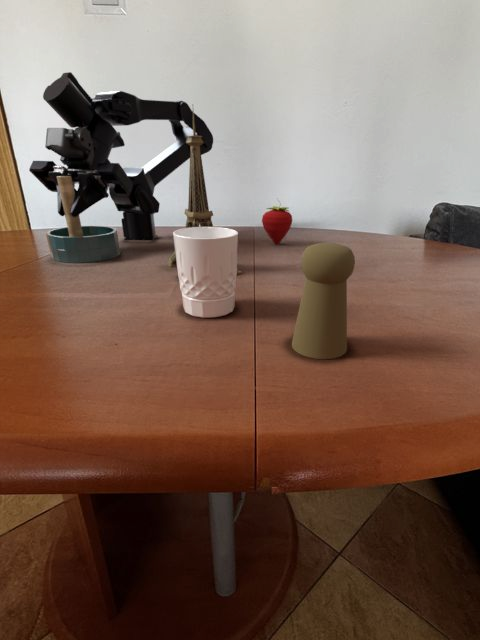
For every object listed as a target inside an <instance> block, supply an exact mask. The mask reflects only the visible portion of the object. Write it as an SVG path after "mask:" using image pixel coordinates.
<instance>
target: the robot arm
mask: <svg viewBox="0 0 480 640" xmlns="http://www.w3.org/2000/svg"><path fill="white" fill-rule="evenodd" d="M42 98H43V100H44V101H45V102H46V103H47V104H48V105H49V107H51V108H52V110H53V111H54V112H55V113H56V114H57V115H58V116H59V117H60V118H61V119H62V120H63V121H64V122H65V123H66V124H67V126H69V127H70V128H66V127H47V128H46V136H45V148H46V149H47V150H49V151H51V152H53V153H55V154H57V155H58V156H60V158H59V161H60V162H61V163H62V164H63V165H65V166H66V167H65V166H63V165H57V164H56V163H55V161H53V160H32V162H31V164H30V167H29V168H28V169H29V170H28V171H29V172H30V173H31V174H32V175H33V177H35V178H36V179H37V180H38V182H40V183H41V184H42V185H43V186H44V187H45V188H46V189H47V190H48V191H50V192H53V193H56V194H57V195H56V197H57V198H56V199H57V213H58V214H59V216H61V217H65V213H64V209H63V204H62V199H61V195H60V190H59V185H58V181H57V176H71V177H72V182H73V187H74V192H75V199H74V202H73V204H72V208H71V212H70V213H71V215H72V216H73V217H77V216H78V215H79V216H80V215H81V214H82V213H83V212H85V211H86V210H88V209H89V208H91V207H92V206H93V205H95V204H97V203H99V202H100V201H102V200H103V199H107V198H108V197H110V199H111V200H112V201H113V203H114V206H115V208H116V210H117V212H122V215H123V216H122V218H121V226H122V228H121V229H122V235H123V240H124V241H154V240H155V239H157V238H158V237H159V236H158V234H156V224H155V223H156V222H155V216H154V215H155V214H158V213H159V212H160V205H161V204H160V202H159V200H158V199H157V198H156V197H155V196H154V193H155V188H156V186H157V185H158V184H160V183H162V181H163V180H165V179H166V178H167V177H168V176H170V175H171V174H172V173H173V172H174V171H176V170H177V169H178V168H179V167H182V165H184V164H185V162H187V161H188V160H190V145H189V144H187V143H186V141H187V140H188V138H189V137H187V136H193V111H194V110H193V109H192V108H191V107H190V105H189V104H188V103H187V102H185V101H183V100H172V101H171V100H157V99H156V100H155V99H142V98H139V97H137V96H136V95H134V94H132V93H129V92H125V91H124V90H123V91H122V90H117V91H116V90H115V91H108V92H106V91H105V92H104V91H103V92H98V93H96V94H95V97H91V96H90V95H89V93H87V91H86V90H85V89H84V87H83V86H82V85H81V84H80V82H79V80H78V79H77V78H76V76H75V75H74V74H73V73H72V72H71V71H68V72H63V73H62V75H61V76H60V77H58V78H57V79H55V80H54V81H53V82H52V83H51V84H49V85H47V86H46V87H45V89H44V92H43V93H42ZM142 121H168V122H169V123H170V126H171V130H172V134H173V136H174V137H175V138H174V142H173V143H172V144H171V145H170V146H168V147H166V149H164V150H163V151H161V152H160V153H158V155H156V156H155V157H153V159H151V160H149V161H148V162H147V163H146V164H144V165H143V166H142V167H136V166H133V167H132V166H124V167H122V166H121V164H120V163H119V162H111V160H110V159H109V157H110V154H111V152H112V150H113V149H117V148H121V147H125V142H124V139H123V137H122V135H121V132H120V131H117V129H116V128H115V127H121V126H126V127H127V126H131V125H134V124H138V123H140V122H142ZM194 121H195V132H196V136H202V137H201V139H202V141H203V142H204V143H203V144H202V145H200V151H201V156H202V155H205V154H208V153H209V152H210V151H211V150H212V149H213V145H214V136H213V133H212V131H211V130H210V128H209V127H208V125H207V123H206V122H205V121H204V120H203V119H202V118H201V117H200V116H199V115H198V114H197V113H195V112H194ZM182 122H183V123H184V124H185V125H186V126H183V124H182ZM76 184H77V185H78V187H77V189H76Z"/></svg>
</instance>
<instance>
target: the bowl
mask: <svg viewBox="0 0 480 640" xmlns="http://www.w3.org/2000/svg"><path fill="white" fill-rule="evenodd" d="M81 227H82V232H83V237H70V236H69V232H68V227H67V226H64V227H58V228H54V229H50V230H48V231H46V232H45V237H46V240H47V244H48V248H49V253H50V257H51V259H52V260H53V261H56V262H60V263H69V264H84V263H87V264H88V263H96V262H104V261H107V260H111V259H115V258H117V257H119V256H120V255H121V249H120V242H119V235H118V229H117V228H116V227H113V226H107V225H81Z"/></svg>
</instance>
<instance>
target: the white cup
mask: <svg viewBox="0 0 480 640" xmlns="http://www.w3.org/2000/svg"><path fill="white" fill-rule="evenodd" d="M172 237H173V245H174V251H175V253H176V261H177V267H176V268H177V277H178V276H179V278H178V282H179V288H180V292H181V299H182V307H183V310H184V312H185V314H188V315H190V316H192V317H195V318H196V317H197V318H204V319H205V318H208V319H209V318H210V319H211V318H219V317H223V316H227V315H228V314H230V313H233V311H234V309H235V306H236V304H235V303H236V289H237V276H238V274H237V269H238V250H239V248H238V246H239V232H238V231H237V230H235V229H232V228H227V227H220V226H219V227H218V226H213V227H200V226H199V227H191V228H185V227H183V228H178V229H176V230H174V231H173V232H172Z"/></svg>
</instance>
